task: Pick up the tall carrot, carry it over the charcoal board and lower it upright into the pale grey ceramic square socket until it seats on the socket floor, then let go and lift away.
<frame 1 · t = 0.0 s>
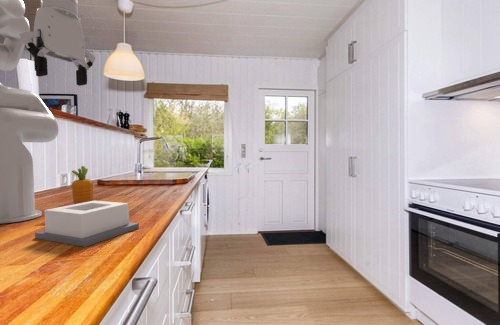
hand: (63, 80, 67), 37 cm above the counter, tool pointing down, fingers open, 9 cm apart
socket stand: (89, 232, 63), on the counter
carrot: (84, 220, 76), on the counter
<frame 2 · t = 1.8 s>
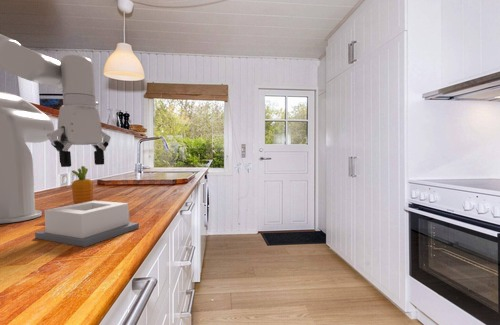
hand: (83, 165, 75), 15 cm above the counter, tool pointing down, fingers open, 9 cm apart
nothing on the counter moved.
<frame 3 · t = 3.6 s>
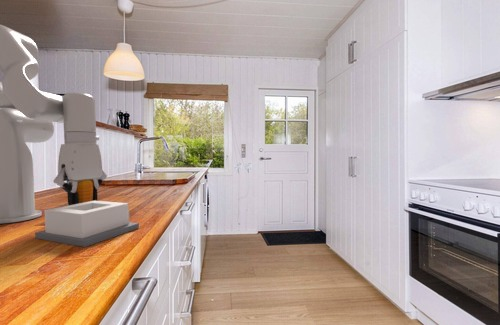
hand: (83, 204, 75), 4 cm above the counter, tool pointing down, fingers closed on carrot, 4 cm apart
carrot: (84, 220, 76), on the counter, touching gripper
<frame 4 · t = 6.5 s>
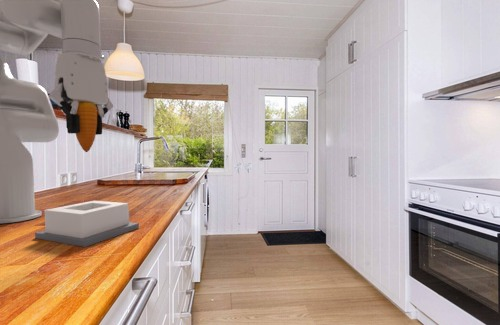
hand: (85, 133, 62), 23 cm above the counter, tool pointing down, fingers closed on carrot, 4 cm apart
carrot: (86, 152, 63), point 19 cm above the counter, touching gripper
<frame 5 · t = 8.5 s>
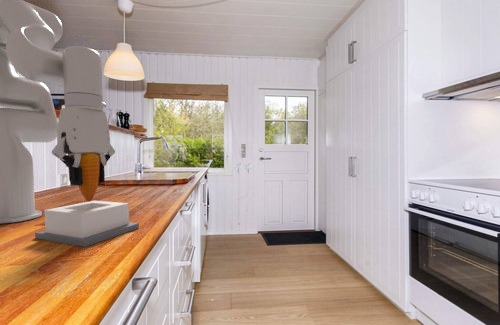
hand: (88, 182, 63), 12 cm above the counter, tool pointing down, fingers closed on carrot, 4 cm apart
carrot: (89, 202, 63), point 7 cm above the counter, touching gripper
when the fingers open (7 cm above the counter, at t = 9.8 s): carrot drops 2 cm, resting on socket stand.
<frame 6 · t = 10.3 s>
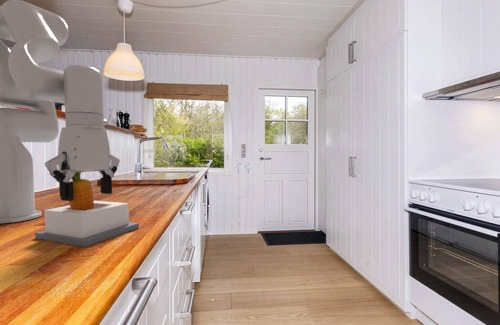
hand: (88, 196, 63), 8 cm above the counter, tool pointing down, fingers open, 9 cm apart
carrot: (87, 228, 63), point 1 cm above the counter, touching gripper, socket stand
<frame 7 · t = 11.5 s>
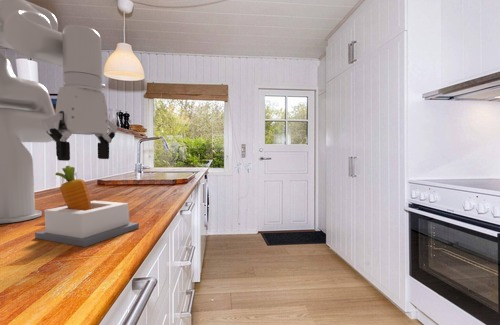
hand: (85, 159, 63), 17 cm above the counter, tool pointing down, fingers open, 9 cm apart
carrot: (87, 228, 63), point 1 cm above the counter, touching socket stand
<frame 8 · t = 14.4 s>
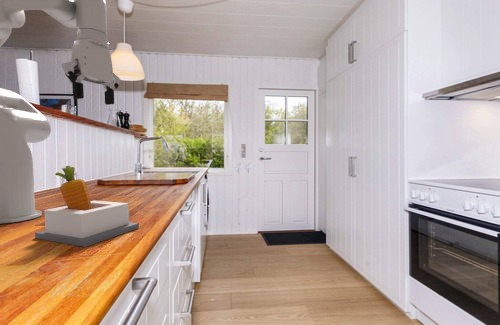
hand: (95, 101, 78), 33 cm above the counter, tool pointing down, fingers open, 9 cm apart
nothing on the counter moved.
at the end: carrot 0.4 cm off-centre on the socket stand, point 1.2 cm above the socket stand's base; carrot tilted 15°; the gripper is holding nothing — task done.
